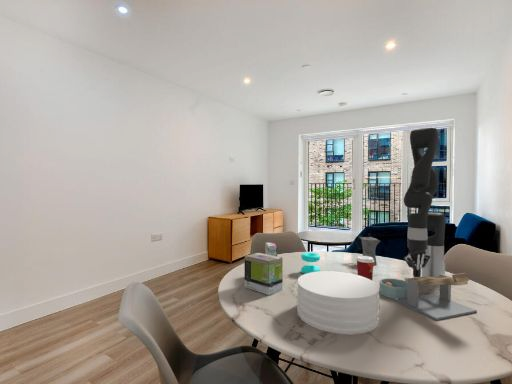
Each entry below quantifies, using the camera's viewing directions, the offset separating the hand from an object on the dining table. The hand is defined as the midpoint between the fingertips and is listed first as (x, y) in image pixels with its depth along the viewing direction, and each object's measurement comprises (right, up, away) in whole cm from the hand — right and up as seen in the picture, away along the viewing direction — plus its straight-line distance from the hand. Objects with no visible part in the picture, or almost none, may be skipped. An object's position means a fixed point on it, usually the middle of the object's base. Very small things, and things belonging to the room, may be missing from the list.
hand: (416, 277), depth 120 cm
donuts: (-41, -6, +28) cm, 50 cm away
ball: (-11, -4, +2) cm, 12 cm away
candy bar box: (-62, -6, +23) cm, 67 cm away
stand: (-2, -7, -15) cm, 16 cm away
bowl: (-10, -7, -2) cm, 12 cm away
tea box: (-67, -7, +4) cm, 67 cm away
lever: (-1, +2, -13) cm, 14 cm away
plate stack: (-41, -7, -21) cm, 46 cm away
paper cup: (-21, -7, +5) cm, 22 cm away
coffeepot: (-3, -6, +47) cm, 47 cm away
